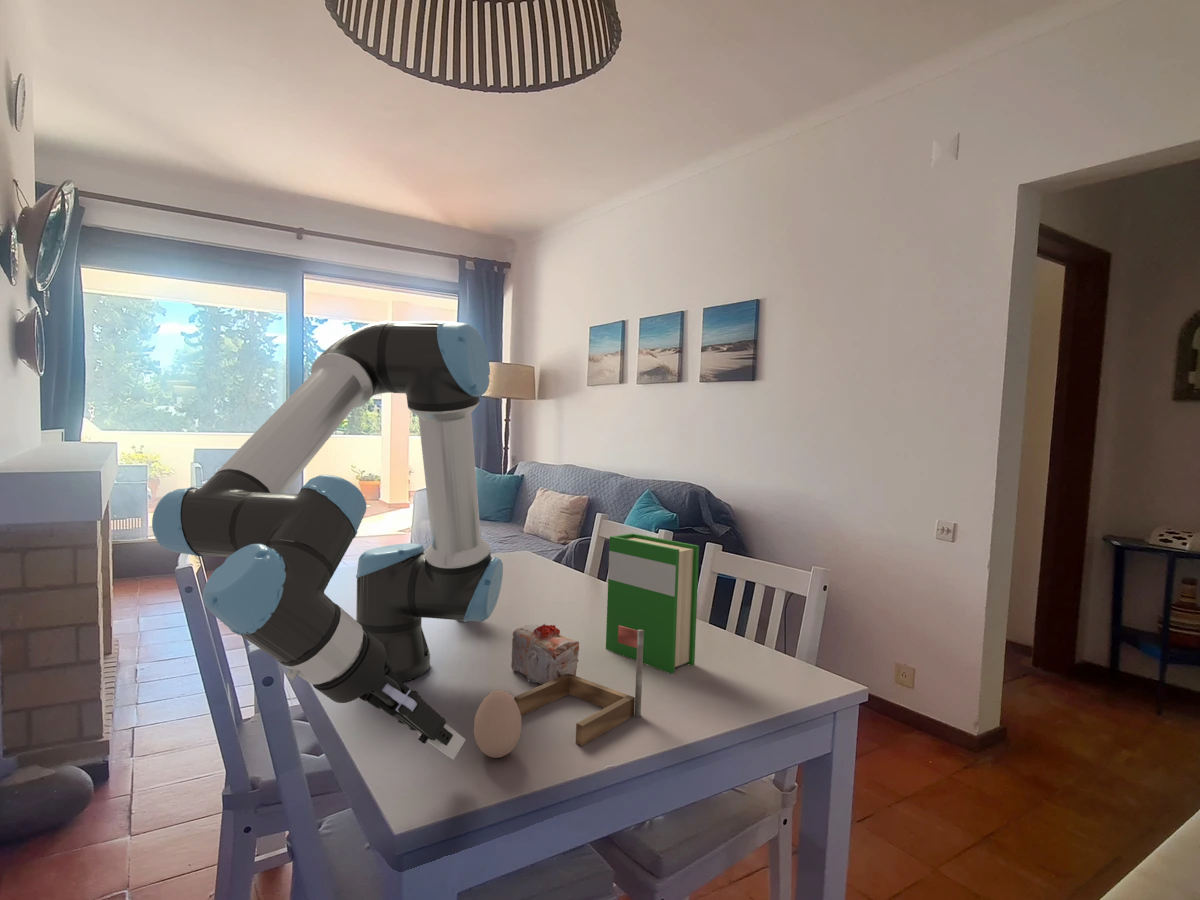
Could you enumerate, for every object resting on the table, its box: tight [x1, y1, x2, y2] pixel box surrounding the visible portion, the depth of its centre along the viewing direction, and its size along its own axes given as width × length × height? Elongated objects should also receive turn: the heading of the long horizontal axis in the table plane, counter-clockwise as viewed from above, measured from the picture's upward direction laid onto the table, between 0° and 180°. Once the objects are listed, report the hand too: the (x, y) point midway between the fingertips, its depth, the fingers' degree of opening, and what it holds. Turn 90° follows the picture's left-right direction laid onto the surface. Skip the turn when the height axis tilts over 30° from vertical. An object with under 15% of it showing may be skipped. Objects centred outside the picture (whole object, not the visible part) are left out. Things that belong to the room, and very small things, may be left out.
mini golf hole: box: [513, 626, 644, 747], centre depth 100 cm, size 15×14×14 cm
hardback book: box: [605, 532, 700, 674], centre depth 127 cm, size 18×7×24 cm, turn 45°
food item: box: [510, 623, 580, 685], centre depth 114 cm, size 14×8×10 cm, turn 46°
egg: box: [473, 689, 523, 759], centre depth 87 cm, size 7×7×9 cm
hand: (456, 747), depth 81 cm, fingers closed
